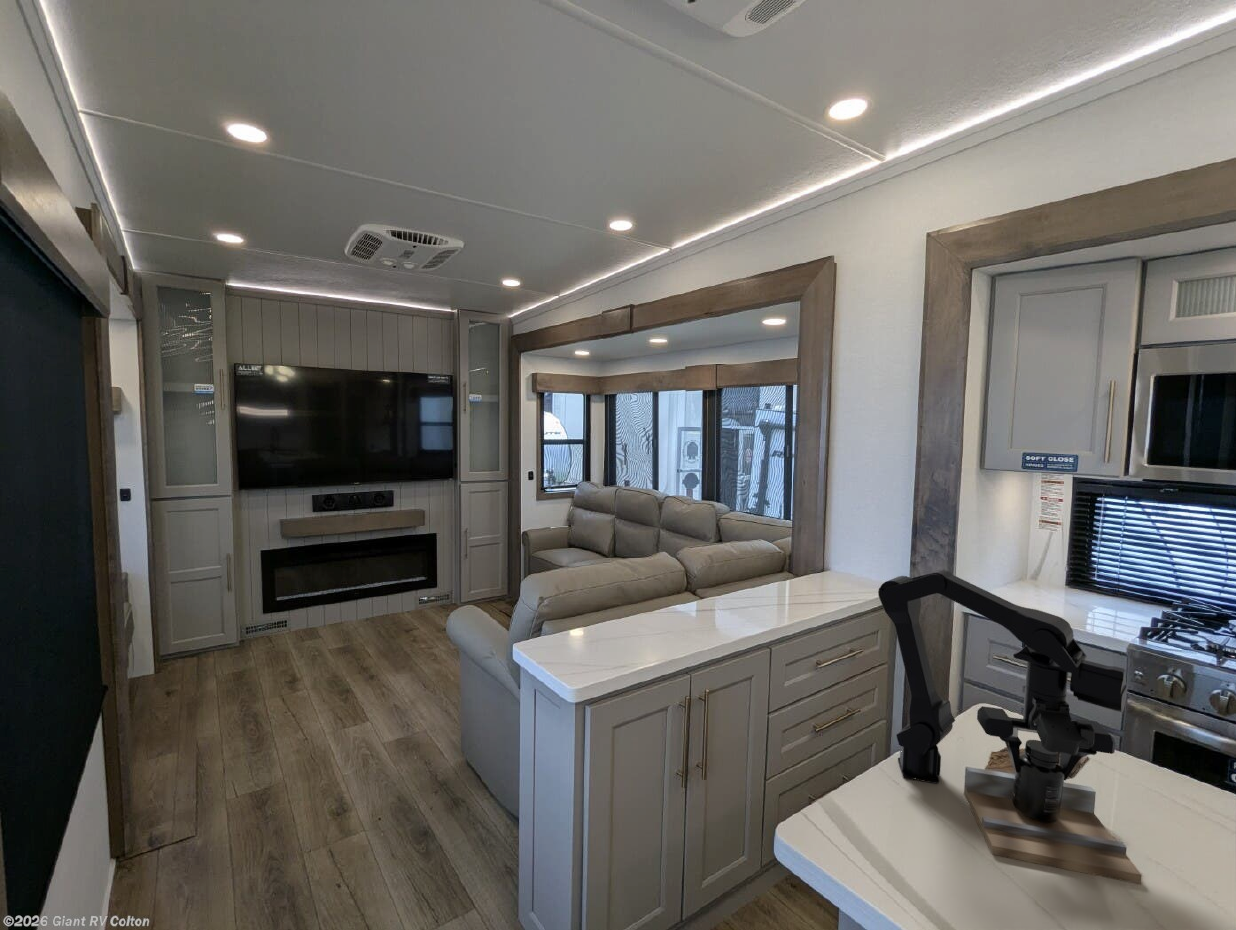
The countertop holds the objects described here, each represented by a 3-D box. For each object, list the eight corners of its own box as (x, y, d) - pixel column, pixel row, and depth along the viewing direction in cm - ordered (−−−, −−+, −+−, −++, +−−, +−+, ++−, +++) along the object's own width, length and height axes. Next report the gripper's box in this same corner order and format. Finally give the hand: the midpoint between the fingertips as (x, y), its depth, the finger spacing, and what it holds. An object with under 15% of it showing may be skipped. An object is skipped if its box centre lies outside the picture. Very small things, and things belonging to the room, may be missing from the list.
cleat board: (991, 854, 94) (993, 822, 93) (963, 793, 109) (965, 766, 109) (1140, 883, 88) (1143, 850, 88) (1089, 815, 103) (1091, 786, 103)
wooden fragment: (1061, 743, 127) (1062, 739, 127) (1112, 773, 116) (1112, 768, 116) (960, 755, 123) (960, 750, 122) (1003, 787, 112) (1003, 782, 112)
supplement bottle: (1052, 805, 103) (1062, 742, 101) (1063, 830, 97) (1073, 764, 95) (1007, 792, 106) (1015, 731, 104) (1014, 816, 99) (1024, 751, 98)
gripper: (999, 702, 94) (993, 792, 95) (1137, 721, 89) (1129, 816, 90) (978, 674, 105) (973, 755, 106) (1100, 689, 99) (1094, 774, 101)
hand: (1039, 775), depth 100 cm, fingers closed on supplement bottle, 7 cm apart
